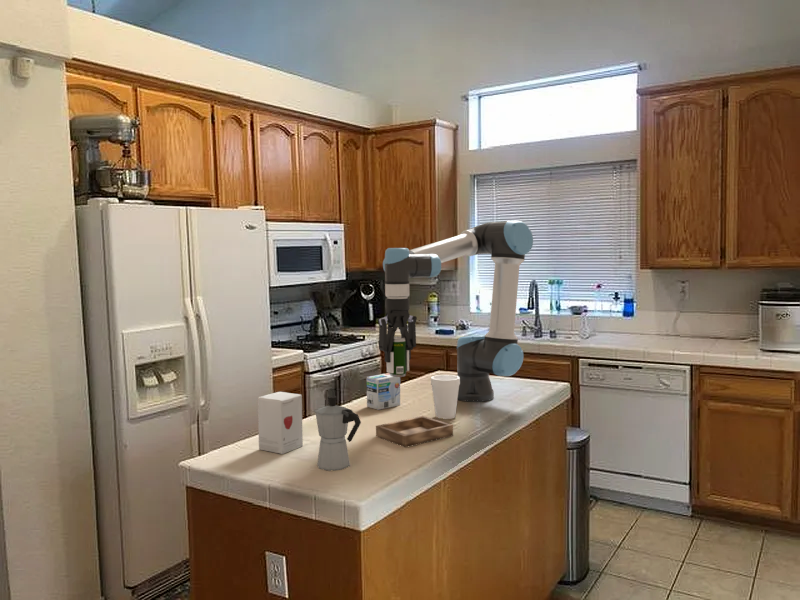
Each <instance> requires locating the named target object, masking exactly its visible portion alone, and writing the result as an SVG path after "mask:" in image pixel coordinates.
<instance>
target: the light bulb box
mask: <svg viewBox="0 0 800 600" xmlns="http://www.w3.org/2000/svg"><path fill="white" fill-rule="evenodd" d="M398 405H399V406H401V377H392V376H390V373H388V372H386V373H381V374H376V375H370V376H366V407H367V408H371V409H374V410H384V409H388V408H394V407H398Z"/></svg>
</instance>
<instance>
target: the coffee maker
mask: <svg viewBox="0 0 800 600" xmlns="http://www.w3.org/2000/svg"><path fill="white" fill-rule="evenodd" d="M327 401H328V405H326V406H323V407H318V408H315V409H312V411H313V412H314V413H315V417H316V418H315V420H316V423H317V425H316V426H317V431H318V436H319V437H320V442H319V447H318V449H319V450H318V458H317V462H316V463H317V467H318V469H319V470H323V469H324V471H329V472H332V471H331V470H333V471H341V470H342V469H343V470H345V469H346V467H347V468H349V467H351V463H350V457H349V451H348V450H349V449H348V446H347V441H348V443H350V442H353V441H352V440H353V438H354V436H355V435H356V433H357V431H358V429H359V427H360V425H361V424H362V421H361V418H360V416H359V415H358V414H357V413H356V412H354V410H352V409H350V408H347V407H345V406H341V405H337V396H336V395H330V396H327ZM351 422H354V425H353V427H352V428H351V430H350V432H349V434H348V425H349V423H351ZM347 434H348V436H347V437H346V435H347ZM346 440H347V441H346ZM348 466H349V467H348ZM344 468H345V469H344Z"/></svg>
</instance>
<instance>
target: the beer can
mask: <svg viewBox="0 0 800 600" xmlns="http://www.w3.org/2000/svg"><path fill="white" fill-rule="evenodd" d="M391 352H393V356H394V373H390V376H392V377H400V378H402V377H406V375H407V371H406V339H405V337H401V336H394V340H393V345H392V350H391Z"/></svg>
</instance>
